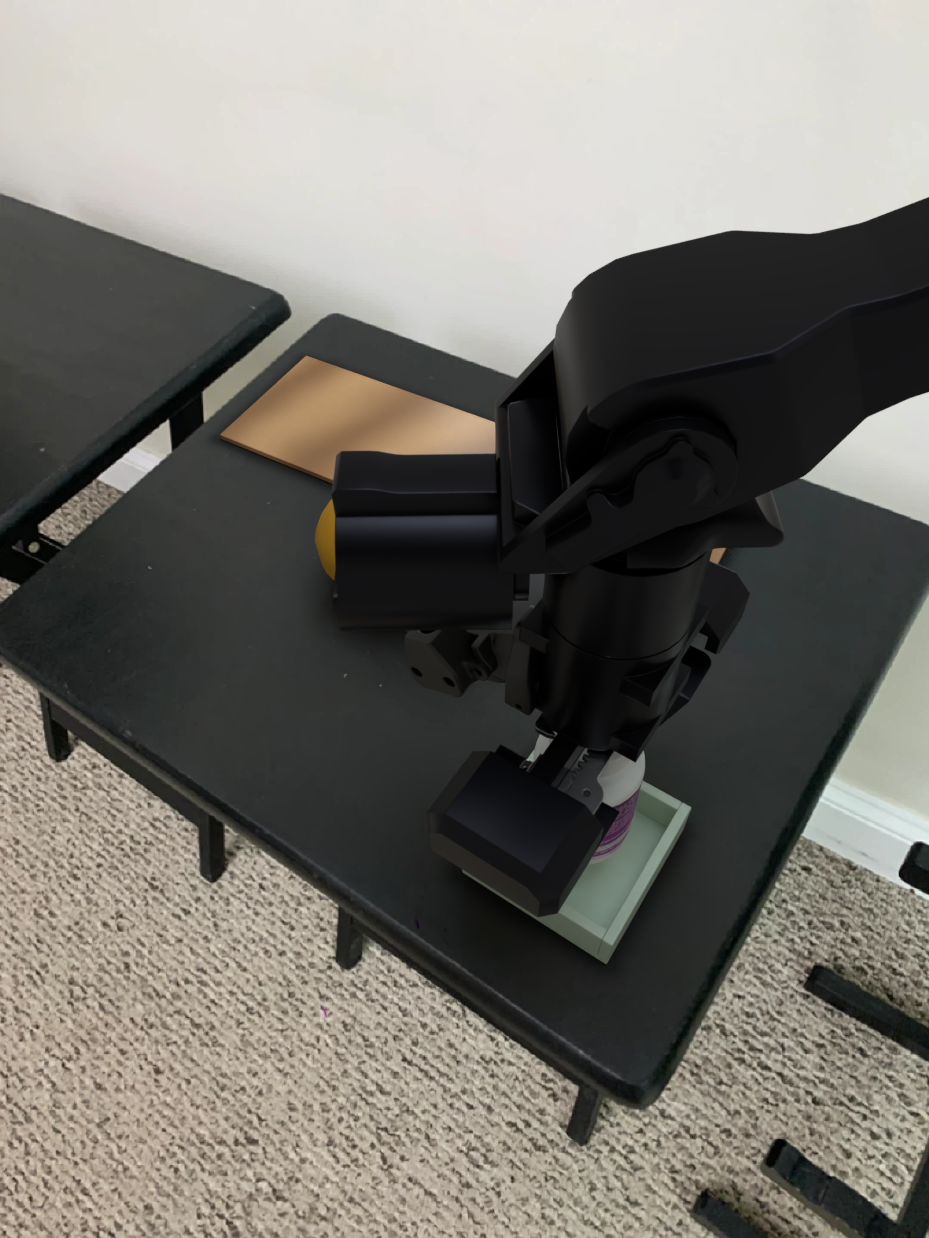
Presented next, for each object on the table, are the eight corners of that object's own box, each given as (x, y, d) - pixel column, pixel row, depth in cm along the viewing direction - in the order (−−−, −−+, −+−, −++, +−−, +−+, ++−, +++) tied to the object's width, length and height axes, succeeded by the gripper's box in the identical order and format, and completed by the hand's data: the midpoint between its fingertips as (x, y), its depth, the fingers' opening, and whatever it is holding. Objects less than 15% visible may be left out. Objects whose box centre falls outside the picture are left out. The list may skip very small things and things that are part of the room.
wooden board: (744, 515, 69) (745, 510, 69) (685, 626, 63) (686, 622, 62) (306, 360, 82) (306, 355, 81) (220, 439, 75) (219, 434, 75)
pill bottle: (646, 806, 50) (674, 710, 42) (600, 886, 47) (623, 798, 40) (558, 760, 52) (571, 659, 44) (510, 834, 49) (514, 741, 42)
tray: (683, 830, 53) (692, 807, 51) (606, 964, 49) (612, 945, 46) (546, 753, 57) (548, 728, 54) (462, 872, 52) (460, 850, 50)
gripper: (559, 395, 43) (543, 607, 55) (295, 672, 33) (346, 854, 45) (790, 486, 39) (716, 693, 51) (564, 831, 29) (541, 984, 41)
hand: (584, 793), depth 47 cm, fingers closed on pill bottle, 5 cm apart
